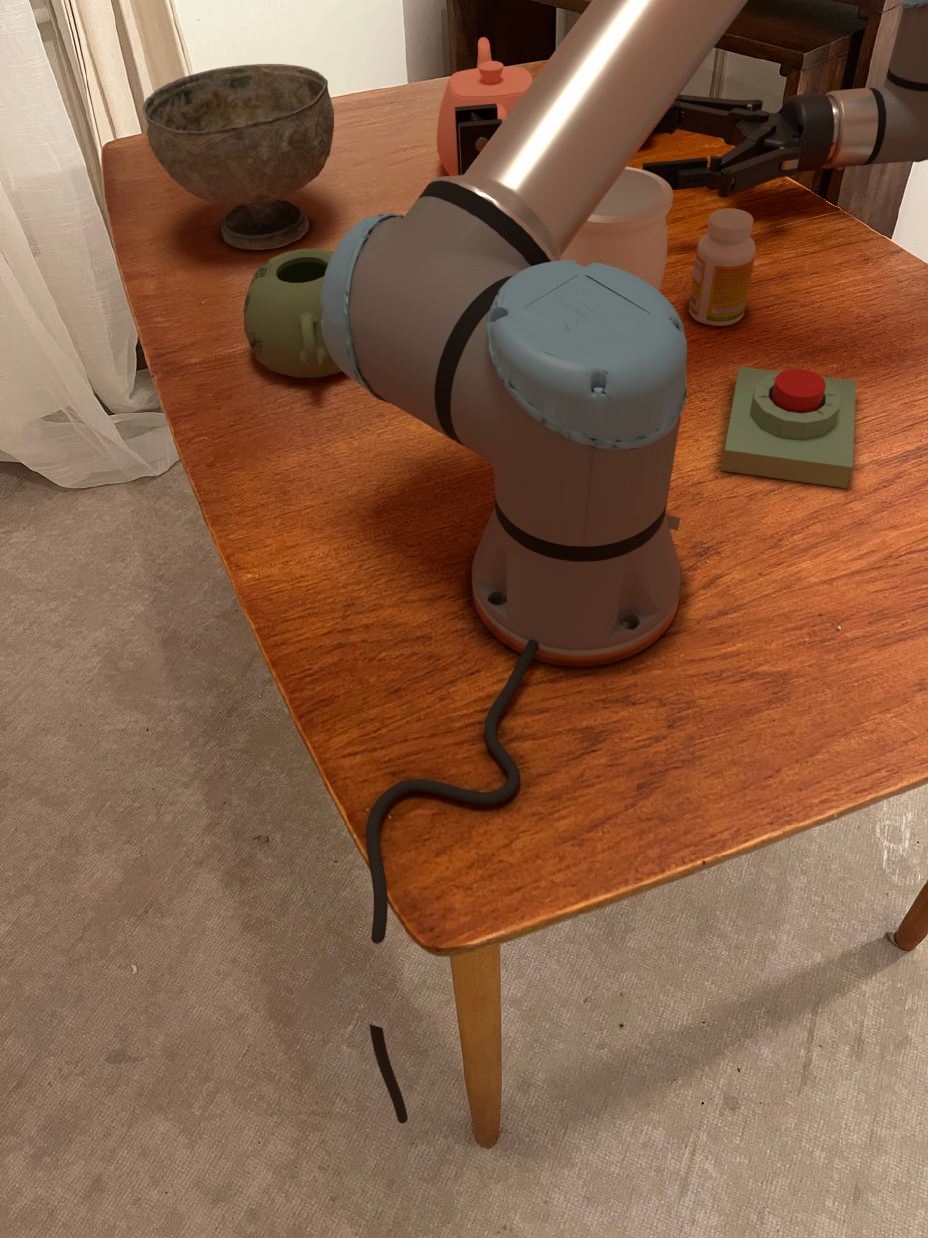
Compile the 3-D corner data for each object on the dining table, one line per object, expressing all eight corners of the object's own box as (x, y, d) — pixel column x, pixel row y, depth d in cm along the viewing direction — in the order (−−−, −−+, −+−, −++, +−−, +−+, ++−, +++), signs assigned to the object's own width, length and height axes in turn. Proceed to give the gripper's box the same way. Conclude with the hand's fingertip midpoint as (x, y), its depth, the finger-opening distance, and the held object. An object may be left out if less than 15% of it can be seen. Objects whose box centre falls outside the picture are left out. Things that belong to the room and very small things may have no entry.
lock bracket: (529, 210, 113) (529, 92, 103) (541, 248, 107) (543, 126, 97) (425, 220, 112) (416, 102, 103) (432, 259, 106) (423, 137, 97)
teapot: (535, 131, 127) (536, 26, 118) (558, 201, 114) (562, 90, 105) (432, 139, 127) (426, 35, 118) (444, 211, 114) (437, 100, 104)
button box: (846, 488, 79) (859, 449, 76) (720, 470, 81) (728, 431, 78) (850, 401, 87) (861, 362, 84) (734, 386, 89) (742, 348, 86)
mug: (251, 320, 100) (232, 239, 93) (377, 306, 100) (367, 225, 94) (249, 415, 89) (228, 331, 83) (390, 398, 90) (380, 314, 83)
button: (820, 417, 80) (825, 399, 78) (769, 410, 80) (773, 393, 79) (822, 388, 82) (827, 371, 81) (773, 382, 83) (777, 365, 82)
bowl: (327, 177, 121) (307, 43, 110) (366, 249, 109) (348, 106, 97) (167, 207, 117) (129, 72, 106) (189, 285, 105) (149, 141, 94)
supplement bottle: (754, 310, 97) (773, 215, 90) (724, 334, 94) (740, 237, 87) (708, 292, 100) (722, 198, 92) (677, 315, 97) (689, 220, 90)
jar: (651, 382, 90) (669, 224, 79) (539, 373, 92) (542, 217, 80) (659, 319, 97) (677, 166, 85) (555, 312, 98) (559, 160, 87)
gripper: (857, 219, 100) (652, 239, 99) (778, 120, 116) (602, 137, 115) (877, 144, 94) (659, 164, 93) (791, 51, 111) (606, 68, 110)
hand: (627, 149), depth 104 cm, fingers open, 13 cm apart
